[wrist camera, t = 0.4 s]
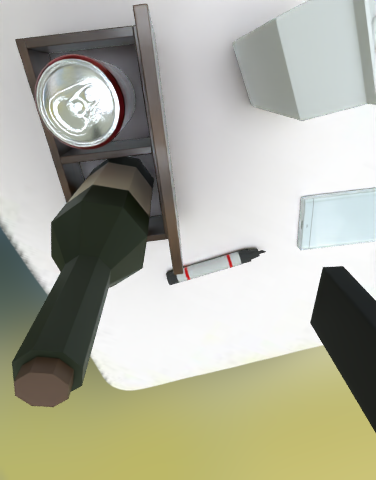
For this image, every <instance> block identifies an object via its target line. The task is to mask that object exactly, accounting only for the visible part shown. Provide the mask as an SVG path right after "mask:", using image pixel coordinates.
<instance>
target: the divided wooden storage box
mask: <svg viewBox="0 0 376 480" xmlns="http://www.w3.org/2000/svg"><path fill="white" fill-rule="evenodd" d="M133 11H134V17H135V24H136V25H135V26H126V27H117V28H108V29H100V30H91V31H82V32H74V33H65V34H56V35H48V36H39V37H30V38H22V39H15V40H16V44H17V47H18V50H19V53H20V56H21V59H22V63H23V66H24V69H25V72H26V75H27V78H28V82H29V85H30V88H31V91H32V94H33V97H34V101H35V85H36V82H37V78H38V76H39V74H40V72H41V70H42V69H43V68H44V67H45V66H46V64H47V63H48V62H50V61H51V59H50V55H49V54H51V53H60V52H68V51H77V50H85V49H94V48H103V47H111V46H120V45H129V44H135V46H136V52H137V58H138V65H139V71H140V77H141V84H142V90H143V96H144V103H145V109H146V116H147V122H148V128H149V135H150V137H148V138H139V139H131V140H122V141H114V142H110V143H108V144H106V145H105V146H103V147H100V148H97V149H91V150H83V149H77V148H73V147H70V146H68V145H66V144H64V143H62V142H61V141H59V140H58V139H57V138H55V137H54V136H53V135H52V134H51V133H50V132H49V131H48V129H47V128H46V127H45V125H44V124H43V122H42V120H41V118H40V120H41V123H42V126H43V129H44V132H45V136H46V139H47V142H48V145H49V148H50V151H51V155H52V158H53V161H54V164H55V167H56V170H57V174H58V177H59V180H60V183H61V186H62V189H63V193H64V196H65V199H66V202H68V201H69V200H70V198H71V197H72V196H73V195H74V193H75V192H76V191H77V190H78V188H79V187H80V186H81V185H82V184H83V182H84V178H83V175H82V171H81V168H80V164H79V162H85V161H93V160H102V159H110V158H118V157H127V156H135V155H143V154H153V160H154V167H155V173H156V179H157V186H158V192H159V198H160V205H161V211H162V215H159V216H151V217H150V218H149V227H148V236H147V242H148V241H156V240H164V239H168V240H169V247H170V253H171V260H172V266H173V273H174V275H178V274H183V262H182V252H181V241H180V230H179V220H178V211H177V204H176V196H175V188H174V181H173V173H172V165H171V157H170V150H169V142H168V134H167V127H166V119H165V111H164V103H163V96H162V88H161V80H160V73H159V65H158V57H157V49H156V42H155V34H154V30H153V25H152V21H151V17H150V13H149V8H148V5H147V4H139V5H133ZM35 104H36V103H35ZM39 117H40V116H39Z"/></svg>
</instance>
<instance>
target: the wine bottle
mask: <svg viewBox="0 0 376 480" xmlns="http://www.w3.org/2000/svg"><path fill="white" fill-rule="evenodd" d="M153 183H154V178H153V177H152V176H151V174H150V173H149V172H148V170H147V169H146V168H145V166H144V165H143V164H142V162H141V161H140V160H139V159H136V158H131V157H118V158H110V159H107V160H105V161H104V162H103V163H101V164H100V165H99V166H97V167H96V168H95V169H94V170H93V171H92V172H91V174H90V175H89V176H88V177H87V179H86V180H85V181H84V182H83V184H82V185H81V186H80V187H79V188H78V190H77V191H76V192H75V193H74V195H73V196H72V197H71V198H70V200H69V201H68V202H67V203H66V205H65V206H64V207H63V208H62V210H61V211H60V212H59V213H58V215H57V216H56V217H55V218H54V220H53V221H52V222H51V256H52V258H53V260H54V261H55V263H56V265H57V266H58V268H59V270H60V271H61V273H60V275H59V277H58V279H57V281H56V282H55V284H54V286H53V288H52V290H51V292H50V293H49V295H48V297H47V299H46V301H45V303H44V305H43V306H42V308H41V310H40V312H39V314H38V316H37V317H36V319H35V321H34V323H33V325H32V327H31V328H30V330H29V332H28V334H27V336H26V338H25V340H24V341H23V343H22V345H21V347H20V349H19V350H18V352H17V354H16V356H15V358H14V360H13V361H12V366H13V378H14V386H15V396H17V397H18V398H20V399H22V400H23V401H25V402H26V403H28V404H30V405H31V406H44V407H54V406H56V405H58V404H59V403H62V402H63V401H65V400H67V399H68V398H69V395H70V392H71V391H73V390H75V389H77V388H79V387H80V386H82V383H83V379H84V376H85V372H86V369H87V365H88V361H89V358H90V354H91V350H92V347H93V343H94V339H95V336H96V332H97V328H98V325H99V321H100V317H101V314H102V310H103V306H104V303H105V299H106V295H107V292H108V288H109V287H112V286H114V285H116V284H118V283H119V282H121V281H122V280H124V279H126V278H127V277H129V276H130V275H132V274H134V273H135V272H137V271H139V270H140V269H142V268H143V262H144V255H145V249H146V242H147V236H148V227H149V218H150V209H151V200H152V192H153Z"/></svg>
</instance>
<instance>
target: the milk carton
mask: <svg viewBox="0 0 376 480" xmlns="http://www.w3.org/2000/svg"><path fill="white" fill-rule="evenodd" d="M233 48H234V51H235V54H236V58H237V61H238V64H239V67H240V70H241V74H242V77H243V80H244V83H245V86H246V90H247V93H248V96H249V99H250V102H251V105H252V106H253V107H257V108H260V109H263V110H267V111H270V112H274V113H277V114H280V115H284V116H287V117H291V118H294V119H297V120H301V121H304V120H308V119H311V118H315V117H319V116H323V115H327V114H331V113H334V112H338V111H342V110H346V109H350V108H354V107H357V106H361V105H365V104H374V105H376V0H308V1H306V2H304V3H302V4H300V5H299V6H297V7H295V8H293V9H291V10H289V11H287V12H285V13H283V14H282V15H280V16H278V17H276V18H274V19H273V20H271V21H269V22H267V23H265V24H264V25H262V26H260V27H258V28H257V29H255V30H253V31H251V32H250V33H248V34H246V35H244V36H243V37H241V38H239V39H237V40H236V41H234V42H233Z"/></svg>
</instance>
